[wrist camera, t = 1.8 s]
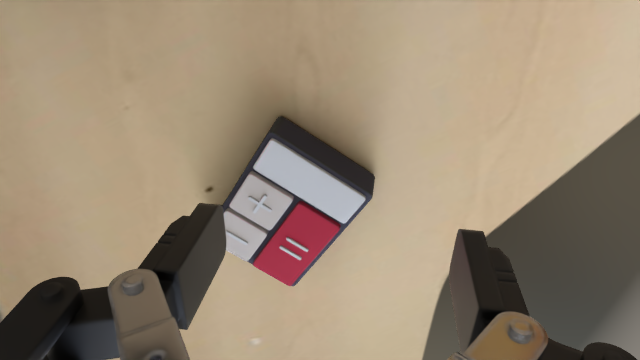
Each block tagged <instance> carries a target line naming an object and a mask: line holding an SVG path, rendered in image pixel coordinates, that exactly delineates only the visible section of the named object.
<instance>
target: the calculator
mask: <svg viewBox="0 0 640 360" xmlns="http://www.w3.org/2000/svg"><path fill="white" fill-rule="evenodd" d="M374 180H375V177H374V175H373V174H372V173H370V172H369V171H367V170H365V169H364V168H362V167H361V166H359V165H358V164H356V163H355V162H353V161H351V160H350V159H348V158H347V157H345V156H344V155H342V154H340V153H339V152H337V151H336V150H334V149H333V148H331V147H329V146H328V145H326V144H325V143H323V142H322V141H320V140H319V139H317V138H315V137H314V136H312V135H311V134H309V133H308V132H306V131H304V130H303V129H301V128H300V127H298V126H297V125H295V124H293V123H292V122H290V121H289V120H287V119H286V118H284V117H278V118H277V119H276V121H275V122H274V124H273V125H272V127H271V129H270V130H269V132H268V133H267V135H266V137H265V138H264V140H263V141H262V143H261V145H260V146H259V148H258V149H257V151H256V153H255V154H254V156H253V157H252V159H251V161H250V162H249V164H248V166H247V167H246V169H245V170H244V172H243V174H242V175H241V177H240V178H239V180H238V182H237V183H236V185H235V186H234V188H233V190H232V191H231V193H230V194H229V196H228V198H227V199H226V201H225V202H224V204H223V206H222V207H223V212H224V222H225V232H226V250H227V251H228V252H230V253H232V254H234V255H235V256H237V257H239V258H241V259H242V260H244V261H248V262H249V263H251V264H253V265H254V266H255V267H256V268H258V269H260V270H262V271H263V272H265V273H267V274H269V275H270V276H272V277H274V278H276V279H277V280H279V281H281V282H283V283H284V284H286V285H288V286H295V285H296V284H297V283H298V282H299V280H300V279H301V278H302V277H303V276H304V275H305V274H306V273H307V271H308V270H309V269H310V268H311V267H312V266H313V265H314V263H315V262H316V261H317V260H318V259H319V258H320V257H321V256H322V254H323V253H324V252H325V251H326V250H327V249H328V248H329V246H330V245H331V244H332V243H333V242H334V241H335V240H336V238H337V237H338V236H339V235H340V234H341V233H342V232H343V231H344V229H345V228H346V227H347V226H348V225H349V224H350V223H351V221H352V220H353V219H354V218H355V217H356V216H357V215H358V214H359V212H360V211H361V210H362V209H363V208H364V207H365V206H366V204H367V203H368V202H369V201H370V200H371V199H372V196H373V188H374Z"/></svg>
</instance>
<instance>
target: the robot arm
mask: <svg viewBox="0 0 640 360" xmlns="http://www.w3.org/2000/svg"><path fill="white" fill-rule="evenodd" d="M225 251H226V232H225V222H224V212H223V207H222V206H221V205H215V204H204V203H199V204H198V205H197V207H196V208H195V210H194V211H193V212H192V214H191V215H190V216H182V217H180V218H179V219H177V220H176V221H174V222H173V223H171V225H170V226H169V227H168V229H167V230H166V231H165V233H164V235H162V237H161V238H160V239H159V241H158V243H156V245H155V246H154V247H153V249H152V250H151V251H150V253H149V254H148V255H147V257H146V258H145V259H144V261H143V262H142V263H141V265H140V266H139V267H138V269H133V270H129V271H126V272H124V273H122V274H120V275H118V276H117V277H116V278H114V279H113V280H112V281H111V283H110V284H109V286H108V287H101V288H93V289H85V290H80V287H79V284H78V282H77V281H76V280H75V279H73V278H70V277H57V278H52V279H49V280H46V281H44V282H42V283H40V284H38V285H36V286H35V287H33V288H32V289H31V290H30V291H29V292H28V293H27V294H26V295H25V296H24V297H23V299H22V300H21V301H20V302H19V303H18V304H17V305H16V306H15V307H14V308H13V310H12V311H11V312H10V313H9V314H8V315H7V316H6V317H5V318H4V319H3V321H2V322H1V323H0V360H106V359H113V358H119V357H120V360H190V358H189V355H188V353H187V350H186V347H185V344H184V342H183V339H182V336H181V333H180V331H179V329H185V330H187V329H188V327H189V325H190V323H191V321H192V319H193V317H194V315H195V313H196V311H197V309H198V307H199V306H200V304H201V302H202V300H203V298H204V296H205V294H206V292H207V290H208V288H209V286H210V284H211V282H212V280H213V278H214V276H215V274H216V272H217V270H218V268H219V266H220V264H221V262H222V260H223V258H224V255H225ZM449 283H450V290H451V296H452V302H453V308H454V314H455V320H456V327H457V333H458V339H459V345H460V351H461V354H460V353H459V352H455V353H453V354H452V355H451V356H450V357H449V358H448V359H447V360H637V359H636V358H635V357H634V356H632V355H631V354H630V353H628V352H626V351H625V350H623V349H621V348H619V347H617V346H614V345H611V344H607V343H601V342H597V343H591V344H589V345H587V346H586V347H585V349H584V351H583V352H582V351H579V350H576V349H574V348H571V347H568V346H565V345H562V344H560V343H558V342H555V341H553V340H552V339H550V338H548V335H547V333H546V331H545V329H544V328H543V327H542V326H541V325H540V324H539V323H538V322H537V321H536V320H534V319H533V318H531V317H530V316H529V313H528V310H527V308H526V305H525V302H524V299H523V296H522V294H521V291H520V288H519V285H518V283H517V280H516V277H515V274H514V273H513V269H512V266H511V263H510V260H509V259H508V258H507V256H506V255H505V254H504V253H503V252H502V251H501V250H500V249H499V248H491V247H488V245H487V242H486V238H485V235H484V232H483V231H475V230H465V229H459V230H458V233H457V237H456V241H455V246H454V250H453V255H452V260H451V264H450V272H449Z"/></svg>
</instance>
